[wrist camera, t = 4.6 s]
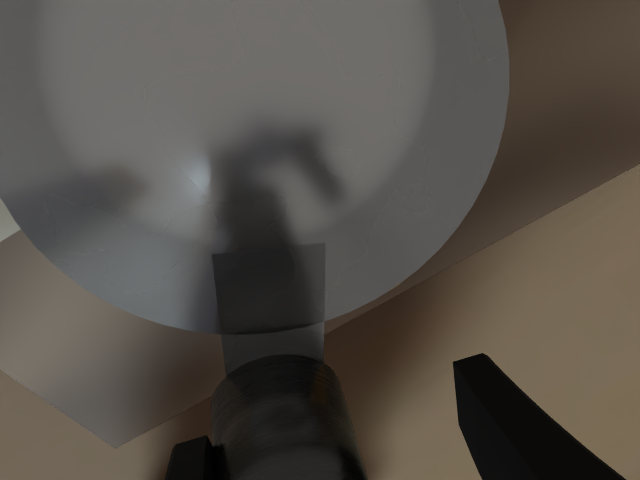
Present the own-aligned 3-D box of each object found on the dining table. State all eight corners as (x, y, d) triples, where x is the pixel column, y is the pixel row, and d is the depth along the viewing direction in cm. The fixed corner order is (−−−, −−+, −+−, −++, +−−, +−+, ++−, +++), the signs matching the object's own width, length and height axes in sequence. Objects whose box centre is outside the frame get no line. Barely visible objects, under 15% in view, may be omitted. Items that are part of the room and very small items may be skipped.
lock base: (666, 95, 17) (764, 144, 14) (121, 399, 19) (109, 491, 16) (527, -864, 8) (726, -1290, 5) (-465, -51, 10) (-714, -17, 7)
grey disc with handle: (-65, -180, 8) (-472, -248, 3) (489, -168, 9) (821, -202, 4) (107, 393, 14) (66, 659, 9) (414, 351, 15) (513, 565, 11)
